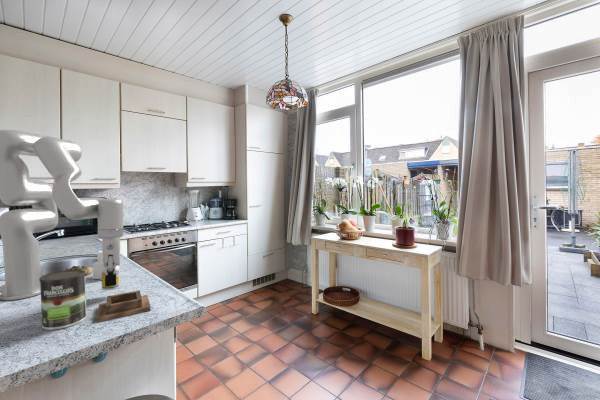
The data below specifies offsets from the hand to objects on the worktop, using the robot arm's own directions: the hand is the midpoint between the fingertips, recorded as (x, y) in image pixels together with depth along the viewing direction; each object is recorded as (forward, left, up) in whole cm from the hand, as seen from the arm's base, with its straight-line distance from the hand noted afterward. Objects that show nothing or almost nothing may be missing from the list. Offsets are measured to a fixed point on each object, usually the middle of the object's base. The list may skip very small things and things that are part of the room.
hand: (110, 282), depth 101 cm
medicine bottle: (-2, +28, -5) cm, 29 cm away
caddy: (+4, -15, -5) cm, 16 cm away
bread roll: (-13, +40, -6) cm, 42 cm away
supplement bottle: (0, 0, -2) cm, 2 cm away
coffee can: (-11, -15, -5) cm, 19 cm away
